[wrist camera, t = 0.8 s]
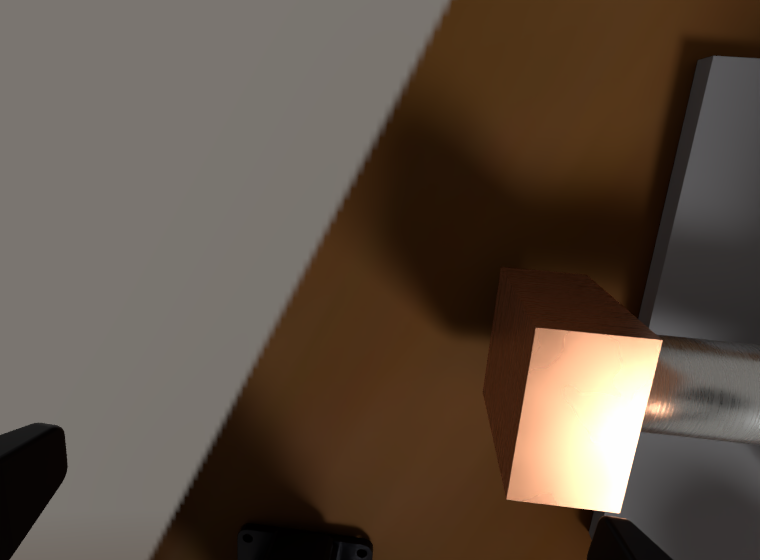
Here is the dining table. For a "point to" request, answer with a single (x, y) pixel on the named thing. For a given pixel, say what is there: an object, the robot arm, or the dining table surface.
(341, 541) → the robot arm
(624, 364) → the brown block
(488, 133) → the dining table surface
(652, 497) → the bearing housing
